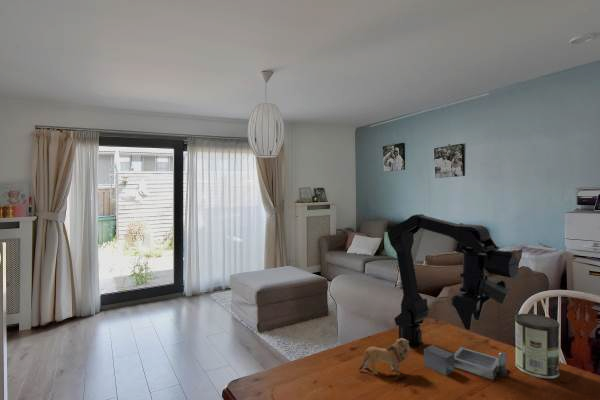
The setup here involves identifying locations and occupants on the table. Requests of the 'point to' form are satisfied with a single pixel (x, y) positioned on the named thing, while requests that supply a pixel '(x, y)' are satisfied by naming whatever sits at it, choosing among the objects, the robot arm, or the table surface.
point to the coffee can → (537, 345)
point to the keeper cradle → (480, 363)
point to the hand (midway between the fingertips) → (472, 324)
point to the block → (439, 360)
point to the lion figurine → (387, 355)
